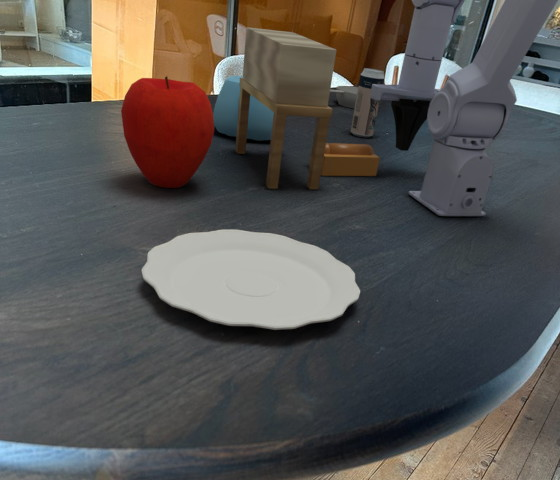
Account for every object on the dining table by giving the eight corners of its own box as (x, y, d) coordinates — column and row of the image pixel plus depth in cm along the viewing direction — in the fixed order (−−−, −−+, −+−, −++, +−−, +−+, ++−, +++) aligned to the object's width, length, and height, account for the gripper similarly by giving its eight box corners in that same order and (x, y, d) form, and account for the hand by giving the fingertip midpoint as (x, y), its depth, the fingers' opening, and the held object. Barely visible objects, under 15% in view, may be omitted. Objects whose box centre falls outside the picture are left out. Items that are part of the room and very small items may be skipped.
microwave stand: (322, 190, 87) (344, 51, 76) (268, 189, 84) (284, 45, 74) (281, 152, 101) (295, 32, 91) (234, 150, 99) (243, 26, 88)
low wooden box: (376, 176, 97) (381, 149, 94) (321, 175, 93) (326, 147, 90) (361, 166, 100) (366, 140, 98) (308, 166, 96) (312, 138, 94)
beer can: (372, 139, 118) (385, 73, 111) (348, 135, 119) (360, 69, 112) (373, 134, 122) (386, 70, 115) (351, 130, 123) (362, 67, 116)
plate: (342, 254, 68) (344, 240, 67) (370, 352, 51) (375, 336, 50) (159, 235, 66) (159, 220, 65) (125, 331, 49) (124, 313, 48)
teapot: (295, 69, 111) (281, 82, 96) (287, 128, 117) (273, 149, 102) (230, 58, 112) (206, 70, 97) (226, 118, 118) (203, 138, 103)
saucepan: (385, 110, 147) (388, 93, 145) (333, 112, 137) (336, 94, 135) (354, 100, 154) (357, 84, 151) (303, 101, 143) (306, 84, 141)
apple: (199, 170, 87) (203, 70, 80) (221, 197, 78) (229, 88, 71) (117, 169, 83) (114, 64, 75) (131, 198, 74) (129, 82, 67)
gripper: (449, 57, 95) (427, 143, 103) (369, 48, 90) (352, 140, 98) (473, 64, 90) (448, 155, 98) (390, 56, 85) (370, 152, 93)
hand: (401, 148), depth 98 cm, fingers closed
